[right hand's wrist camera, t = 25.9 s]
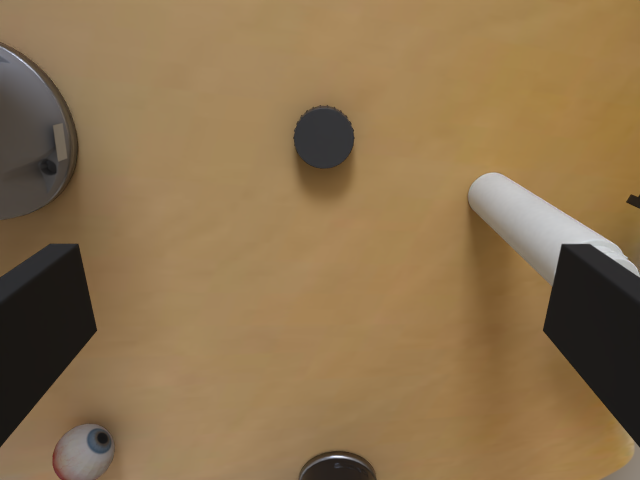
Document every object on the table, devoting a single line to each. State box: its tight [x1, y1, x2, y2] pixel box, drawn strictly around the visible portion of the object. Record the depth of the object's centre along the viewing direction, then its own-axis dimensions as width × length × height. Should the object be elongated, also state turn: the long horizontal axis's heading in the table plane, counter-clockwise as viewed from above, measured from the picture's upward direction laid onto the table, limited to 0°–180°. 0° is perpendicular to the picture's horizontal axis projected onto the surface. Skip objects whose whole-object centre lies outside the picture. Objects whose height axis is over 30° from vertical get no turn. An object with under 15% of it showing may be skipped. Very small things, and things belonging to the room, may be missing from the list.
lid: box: [293, 105, 354, 168], centre depth 38 cm, size 5×5×2 cm
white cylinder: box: [468, 173, 640, 286], centre depth 33 cm, size 4×4×18 cm
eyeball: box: [53, 424, 115, 480], centre depth 49 cm, size 6×6×6 cm
